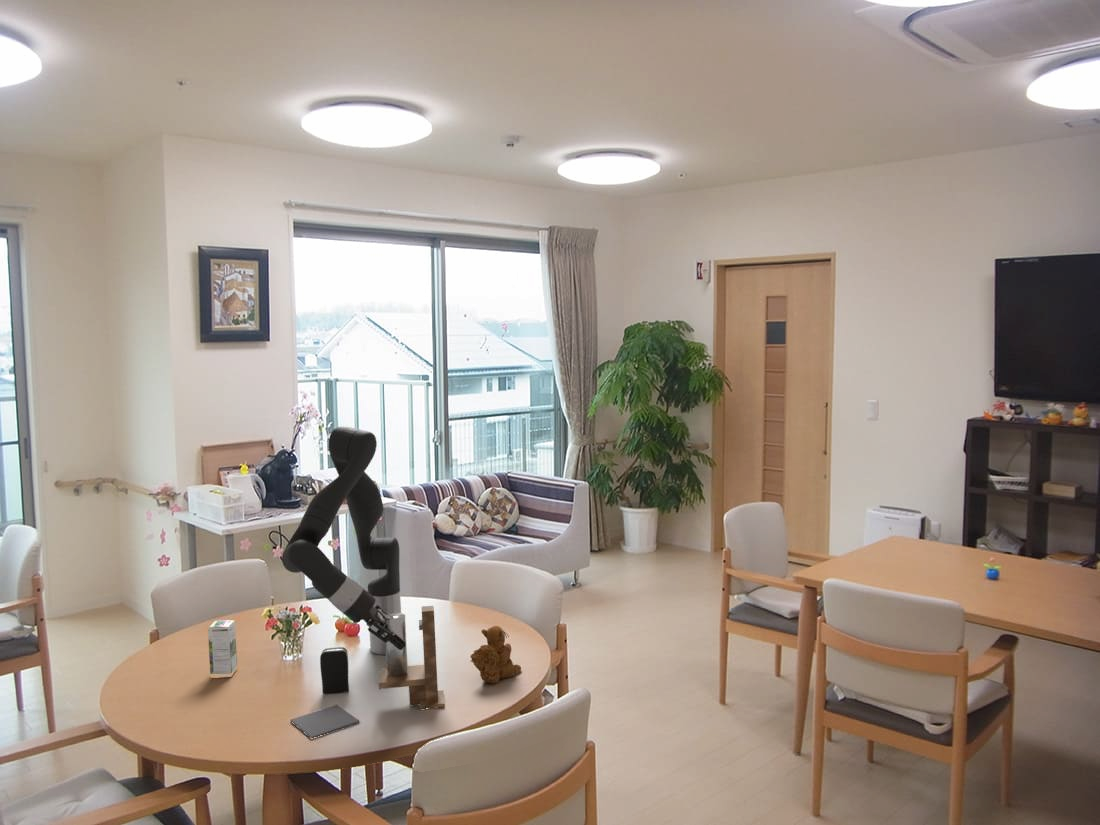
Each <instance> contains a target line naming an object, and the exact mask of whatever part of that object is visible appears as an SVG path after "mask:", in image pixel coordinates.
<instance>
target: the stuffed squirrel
mask: <svg viewBox="0 0 1100 825" xmlns="http://www.w3.org/2000/svg"><path fill="white" fill-rule="evenodd" d="M481 634H482V635H483V636H484V638H486V642H487V644H484V645H480V647H479V648H477V649H476V650H474V651H473V653H472V654H470V655H469V656H470V659H471V660H470V661H469V662H472V663H473V666H474V667H475V668H476V669H477V670H478V671H479V676H480V679H481V680H482V681H483V682H485V683H486V682H487V683H489V684H498V682H499V681H500V680H504V678H505V679H508V678H512V677H516V675H518V674H520V672H521V670H522V666H521V665H520V664H514V663H513V660H512V659H511V653H512V646H511V643H505V642H506V639H508V638H510V636H509V635H508V633H507V632H506V631H505V630H504V629H503V628H502V627H501V626H499V625H494V626H491V627H489V628H488V629H481Z"/></svg>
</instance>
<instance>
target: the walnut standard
mask: <svg viewBox="0 0 1100 825" xmlns="http://www.w3.org/2000/svg"><path fill="white" fill-rule="evenodd" d="M434 608H435V606H434V605H423V606H421V619H419V620H418V630H419V631H422V646H423V648H422V649H423V664H416V665H407V667H408V671H407V672H406V673H404V674H402V675H389V674H388V673H387V667H385V668H379V677H378V690H385V689H393V688H395V689H396V688H405V687H408V696H409V697H408V698H409V706H410V705H413V706H418V705H417V704H420V705H419V710H420V711H422V710H421V709H425V710H427V709H426V708H435V709H437V708H436V707H445V708H446V705H445V704H446V703H445V694H444V690H443V689H442V690H439V688H438V687H439V685H438V671H437V670H438V668H437V667H438V666H437V650H436V648H437V646H436V629H435V628H436V621H435V609H434Z"/></svg>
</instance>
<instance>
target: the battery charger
mask: <svg viewBox="0 0 1100 825" xmlns="http://www.w3.org/2000/svg"><path fill="white" fill-rule="evenodd" d="M319 662H320V663H319V665H320V675H321V688H322V689H321V690H322V691H321V692H322V694H323V695H328V694H329V695H331V694H340V693H341V694H343V693H348V692H349V691H350V685H349V684H350V683H349V655H348V650H347V648H346V647H343V646H342V647H341V646H338V647H329V648H325V649H323V650H322V652H321V653H320V657H319Z"/></svg>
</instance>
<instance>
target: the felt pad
mask: <svg viewBox="0 0 1100 825" xmlns="http://www.w3.org/2000/svg"><path fill="white" fill-rule="evenodd" d="M291 722H293V723H294V724H295V725H296V726H298V727H299V728H300V729H301V730H302V731H303V732H305V733H306V734H307V735H308V736H309V737H311V738H314V737H318V736H320V735H323V736H325V735H324V734H326V735H328V734H327V733H329V734H331V732H332V733H335V732H338V731H340V729H341V730H343V728H344V729H346V728H349V727H352V726H354V725H357V724H360V720H359V719H358V718H356V717H355V716H353V714H351V713H350V712H348V711H347V710H345V709H344V708H343V707H341V706H340V705H338V704H335V705H331V706H328V707H325V708H322V709H319V710H315V711H312V712H310V713H306V714H304V715H299V716H298V717H294V718H291V719H290V723H291ZM294 724H293V725H294ZM295 725H294V726H295ZM296 726H295V727H296ZM300 729H299V730H300ZM301 730H300V731H301ZM337 730H338V731H337ZM302 731H301V732H302ZM334 731H335V732H334ZM303 732H302V733H303ZM307 735H306V736H307ZM308 736H307V737H308ZM309 737H308V738H309ZM318 738H319V737H318Z"/></svg>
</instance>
